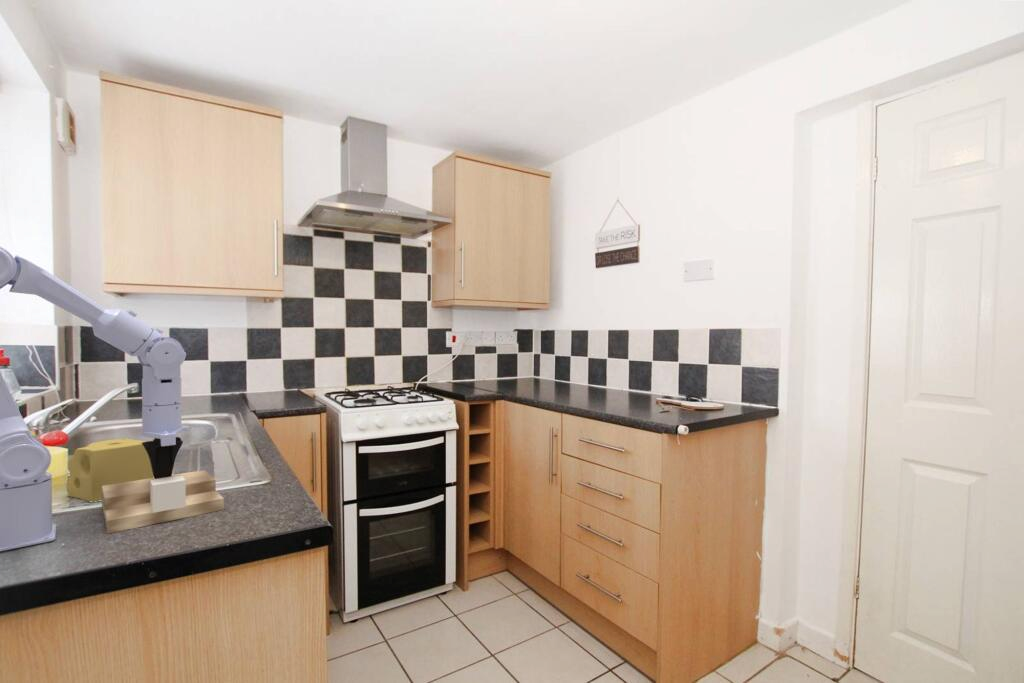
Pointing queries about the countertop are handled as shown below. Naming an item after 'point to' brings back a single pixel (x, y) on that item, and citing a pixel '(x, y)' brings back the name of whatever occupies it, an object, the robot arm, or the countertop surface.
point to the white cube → (167, 493)
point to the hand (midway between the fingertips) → (162, 480)
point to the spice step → (132, 502)
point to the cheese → (106, 467)
